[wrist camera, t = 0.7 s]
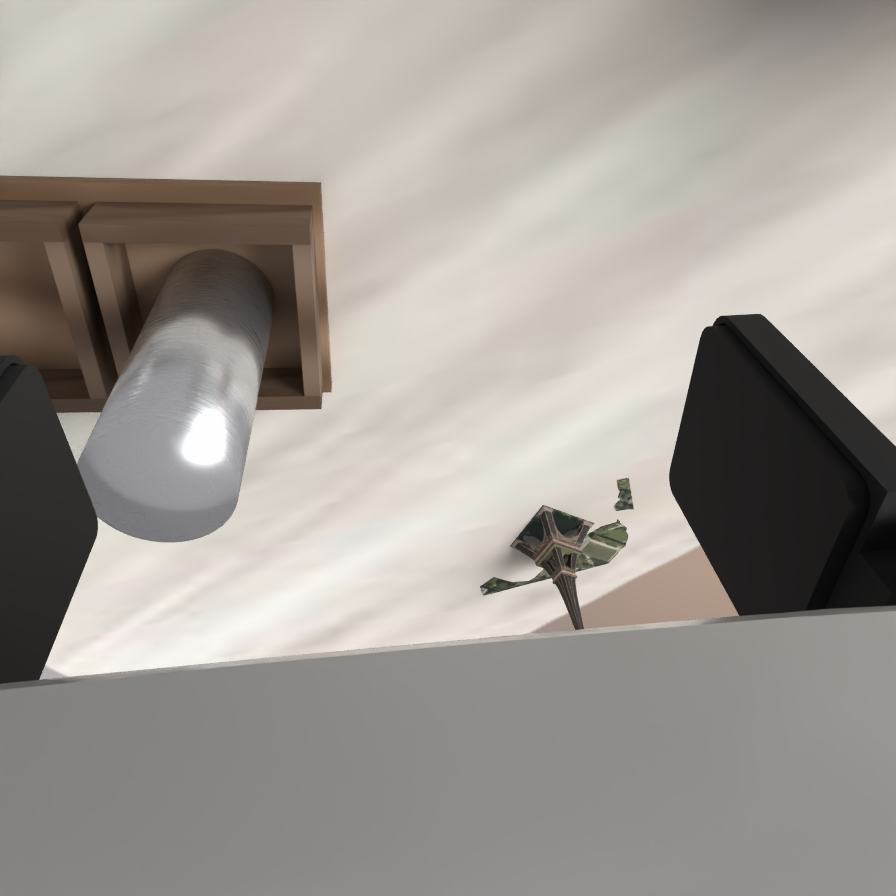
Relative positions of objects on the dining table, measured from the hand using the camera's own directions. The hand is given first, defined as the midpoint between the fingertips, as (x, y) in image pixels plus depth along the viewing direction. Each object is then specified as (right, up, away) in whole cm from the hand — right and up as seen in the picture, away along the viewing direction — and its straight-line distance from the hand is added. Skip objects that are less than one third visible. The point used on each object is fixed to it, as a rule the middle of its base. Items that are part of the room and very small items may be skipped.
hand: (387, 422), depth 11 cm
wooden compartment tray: (-20, +9, +35) cm, 41 cm away
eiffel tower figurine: (+10, -8, +53) cm, 54 cm away
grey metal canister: (-13, +9, +35) cm, 38 cm away
